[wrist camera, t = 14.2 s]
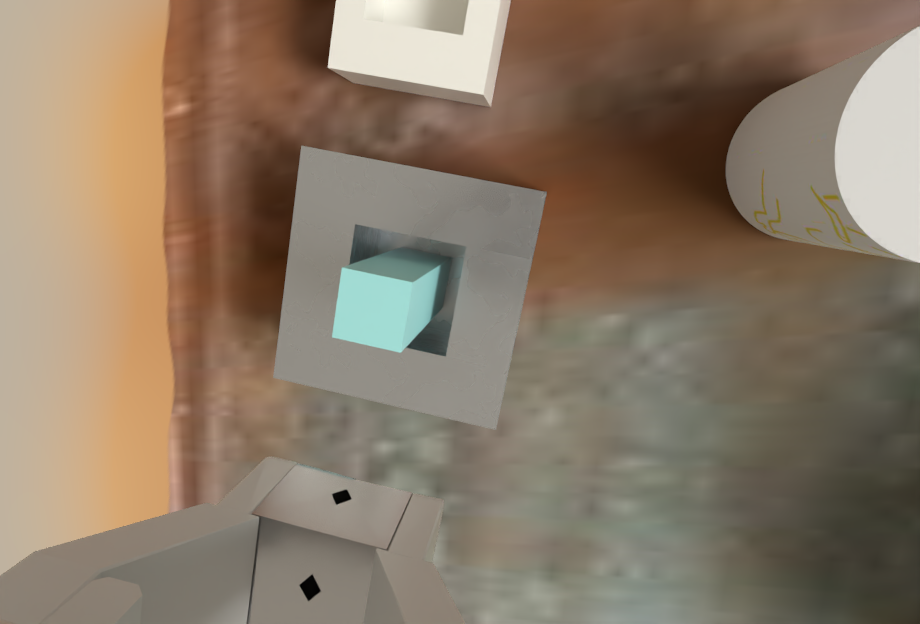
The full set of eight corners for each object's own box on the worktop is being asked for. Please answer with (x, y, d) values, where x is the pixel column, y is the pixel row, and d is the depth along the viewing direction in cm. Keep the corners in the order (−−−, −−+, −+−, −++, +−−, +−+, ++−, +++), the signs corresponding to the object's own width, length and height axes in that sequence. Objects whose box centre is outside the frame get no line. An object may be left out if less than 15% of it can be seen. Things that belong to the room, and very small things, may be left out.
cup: (702, 216, 32) (795, 227, 20) (760, 63, 30) (899, -25, 18) (853, 259, 31) (1039, 296, 19) (921, 104, 29) (1173, 42, 17)
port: (343, 154, 34) (301, 145, 28) (546, 193, 32) (546, 192, 27) (316, 348, 36) (273, 377, 30) (504, 391, 35) (495, 429, 29)
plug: (401, 247, 33) (342, 267, 24) (451, 257, 33) (412, 282, 23) (393, 297, 34) (332, 337, 24) (442, 308, 34) (400, 352, 24)
